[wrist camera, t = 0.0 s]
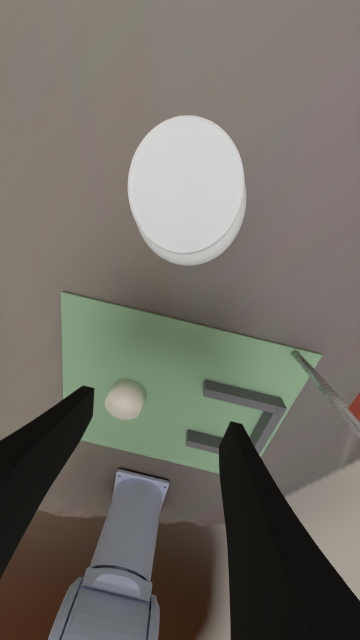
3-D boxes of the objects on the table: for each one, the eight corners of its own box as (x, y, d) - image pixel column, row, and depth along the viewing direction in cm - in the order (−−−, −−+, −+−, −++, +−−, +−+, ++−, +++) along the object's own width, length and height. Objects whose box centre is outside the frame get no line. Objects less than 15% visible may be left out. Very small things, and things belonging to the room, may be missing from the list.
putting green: (245, 477, 27) (246, 480, 26) (65, 434, 27) (64, 436, 26) (320, 353, 19) (322, 355, 18) (62, 291, 19) (60, 291, 18)
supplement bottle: (233, 186, 14) (294, 88, 5) (220, 261, 16) (247, 283, 7) (162, 179, 15) (102, 73, 5) (158, 254, 17) (109, 267, 8)
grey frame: (251, 450, 24) (278, 559, 16) (186, 434, 24) (179, 534, 16) (320, 328, 17) (431, 406, 9) (230, 307, 17) (258, 365, 9)
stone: (142, 409, 23) (138, 423, 21) (110, 401, 23) (103, 415, 21) (148, 383, 22) (143, 396, 20) (113, 375, 22) (106, 387, 20)
